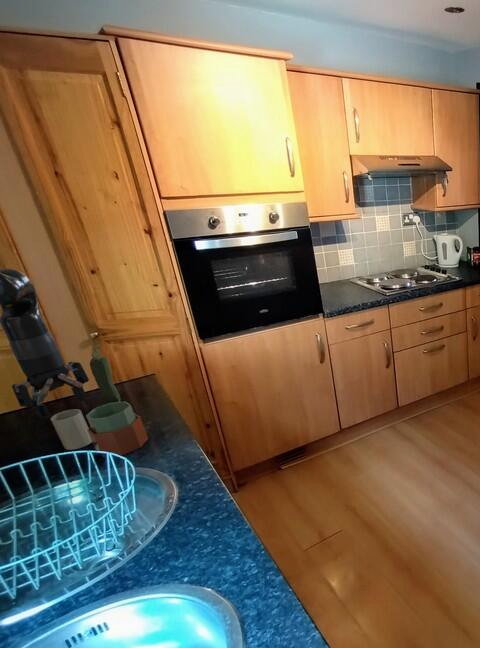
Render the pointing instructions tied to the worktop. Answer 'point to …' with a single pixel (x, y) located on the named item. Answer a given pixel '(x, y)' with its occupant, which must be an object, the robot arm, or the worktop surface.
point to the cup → (71, 429)
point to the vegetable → (103, 376)
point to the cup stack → (116, 428)
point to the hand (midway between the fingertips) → (64, 408)
